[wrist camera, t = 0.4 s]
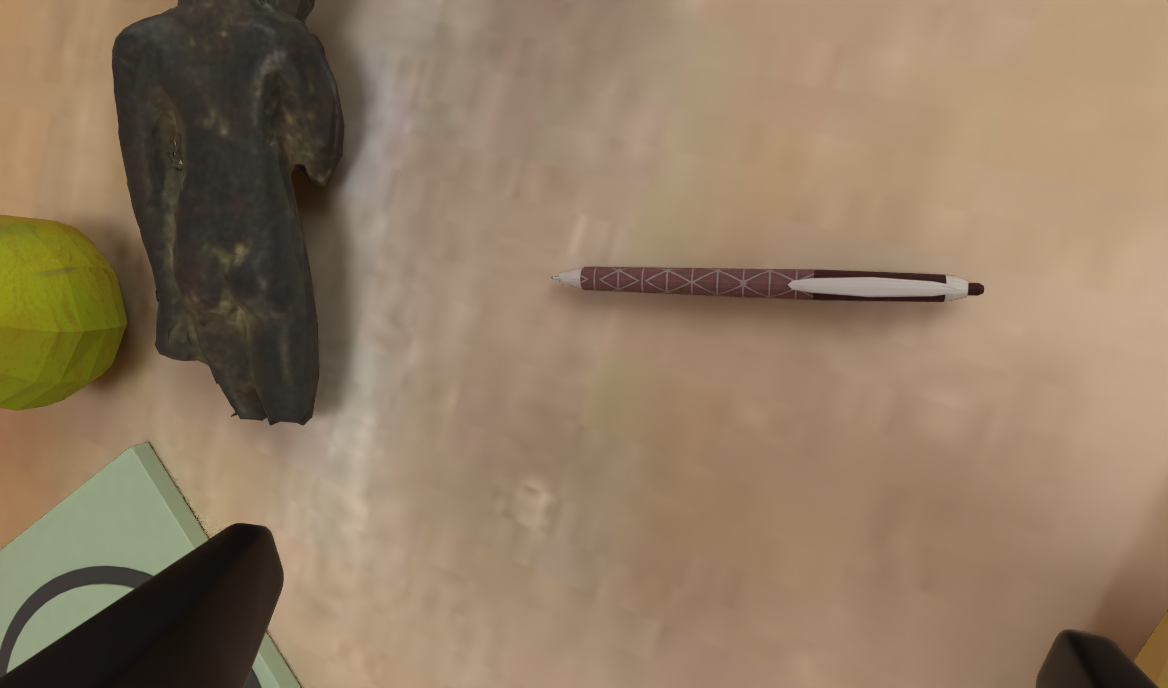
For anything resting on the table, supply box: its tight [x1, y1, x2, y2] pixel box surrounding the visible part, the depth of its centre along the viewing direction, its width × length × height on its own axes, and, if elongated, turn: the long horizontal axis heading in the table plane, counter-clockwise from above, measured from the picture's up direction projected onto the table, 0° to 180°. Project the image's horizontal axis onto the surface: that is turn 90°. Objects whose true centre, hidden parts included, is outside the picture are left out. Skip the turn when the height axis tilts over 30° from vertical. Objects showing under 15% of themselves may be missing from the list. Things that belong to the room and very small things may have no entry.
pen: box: [551, 267, 984, 302], centre depth 21 cm, size 11×1×1 cm, turn 89°
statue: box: [112, 0, 344, 425], centre depth 23 cm, size 6×6×20 cm
